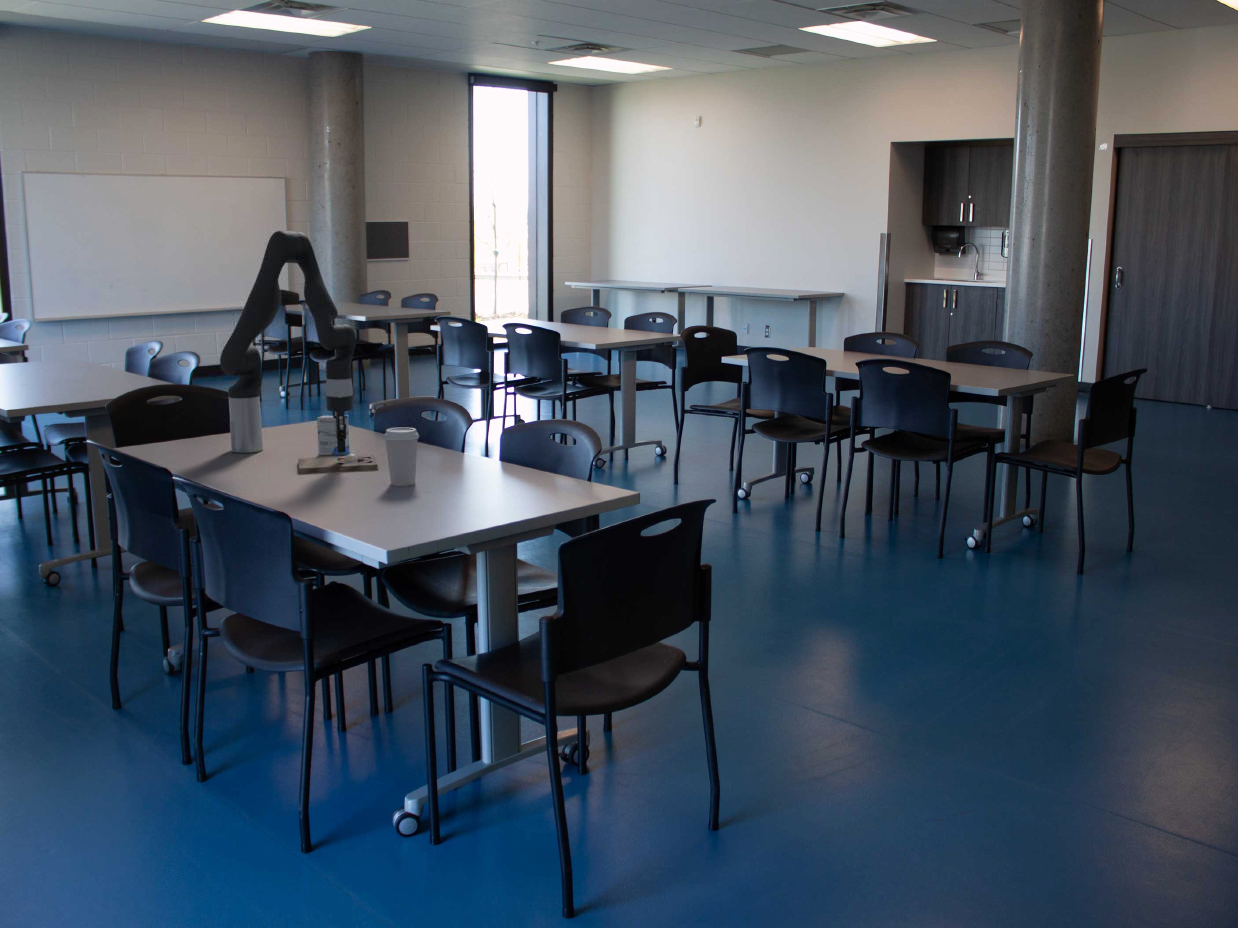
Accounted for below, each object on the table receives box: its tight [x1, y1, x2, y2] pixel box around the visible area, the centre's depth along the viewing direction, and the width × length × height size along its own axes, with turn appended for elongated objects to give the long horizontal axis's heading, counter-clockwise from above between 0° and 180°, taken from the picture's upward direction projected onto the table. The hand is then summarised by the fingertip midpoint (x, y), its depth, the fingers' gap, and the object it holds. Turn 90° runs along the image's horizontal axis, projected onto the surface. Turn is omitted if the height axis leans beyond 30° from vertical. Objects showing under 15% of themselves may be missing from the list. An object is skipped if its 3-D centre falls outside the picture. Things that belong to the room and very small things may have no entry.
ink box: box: [316, 415, 350, 456], centre depth 338 cm, size 8×5×12 cm, turn 84°
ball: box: [346, 453, 358, 463], centre depth 321 cm, size 4×4×4 cm
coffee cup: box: [383, 426, 420, 487], centre depth 297 cm, size 10×10×15 cm
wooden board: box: [297, 454, 379, 474], centre depth 320 cm, size 22×15×2 cm
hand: (341, 452), depth 320 cm, fingers closed
